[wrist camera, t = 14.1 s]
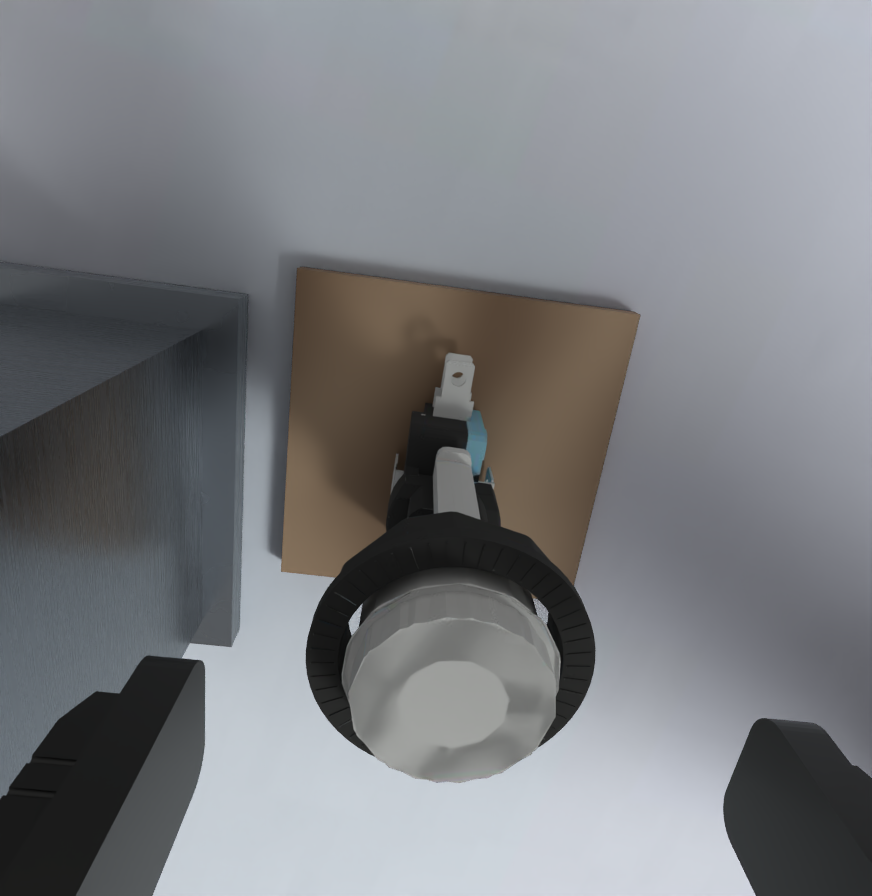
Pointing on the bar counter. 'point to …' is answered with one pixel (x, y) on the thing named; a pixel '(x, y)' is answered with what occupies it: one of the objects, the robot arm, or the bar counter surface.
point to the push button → (449, 617)
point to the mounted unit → (112, 485)
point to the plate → (413, 384)
